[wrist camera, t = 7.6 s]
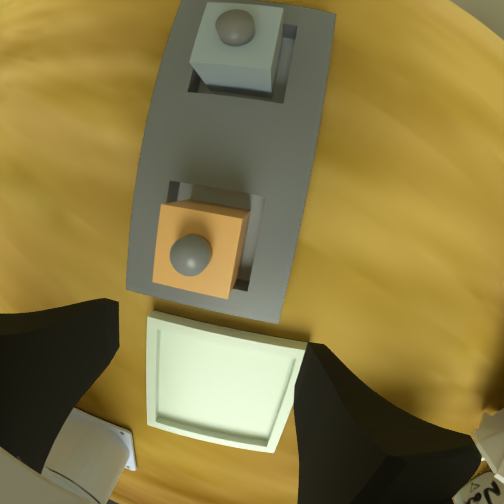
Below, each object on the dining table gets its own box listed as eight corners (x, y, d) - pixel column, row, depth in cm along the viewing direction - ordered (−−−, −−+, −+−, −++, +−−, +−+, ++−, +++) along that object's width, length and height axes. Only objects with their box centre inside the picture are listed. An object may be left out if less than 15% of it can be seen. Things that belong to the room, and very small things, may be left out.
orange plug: (180, 258, 20) (144, 288, 14) (189, 199, 19) (153, 205, 13) (239, 271, 19) (224, 307, 14) (251, 210, 19) (239, 221, 13)
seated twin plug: (210, 90, 17) (183, 54, 11) (222, 40, 16) (203, -8, 10) (271, 98, 17) (270, 62, 11) (282, 46, 16) (283, -2, 10)
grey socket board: (140, 278, 21) (125, 289, 18) (191, 14, 16) (182, -2, 14) (277, 308, 20) (278, 324, 18) (330, 30, 16) (336, 13, 13)
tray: (151, 416, 24) (147, 424, 22) (153, 309, 21) (147, 316, 20) (274, 443, 23) (273, 453, 22) (309, 342, 21) (310, 351, 19)
